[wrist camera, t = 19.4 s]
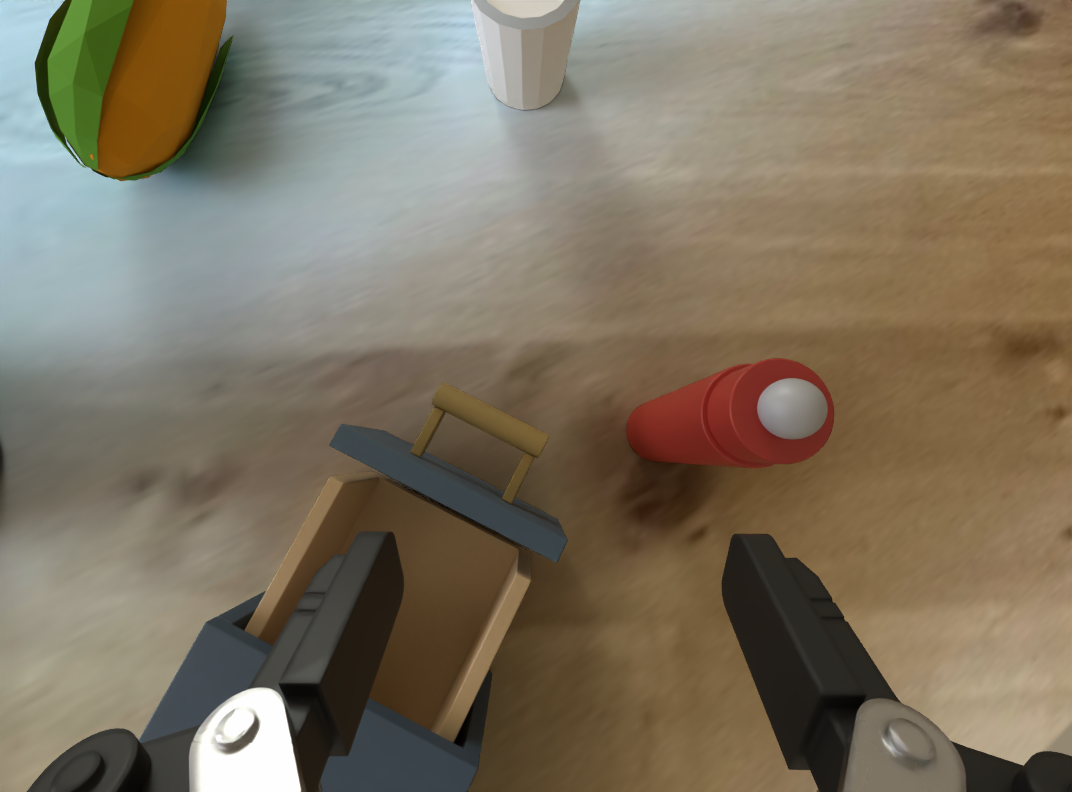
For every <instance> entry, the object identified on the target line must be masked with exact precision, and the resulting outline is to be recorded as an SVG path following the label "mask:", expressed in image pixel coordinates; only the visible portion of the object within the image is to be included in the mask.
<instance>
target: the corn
mask: <svg viewBox="0 0 1072 792" xmlns="http://www.w3.org/2000/svg"><path fill="white" fill-rule="evenodd" d="M226 5H227V0H65V1H64V2H63V4H62V5H61V6H60V7H59V9H58V10H57V11H56V12H55V14H54V15H53V16H52V17H51V19H50V20H49V23H48V26H47V29H46V32H45V35H44V38H43V41H42V43H41V46H40V49H39V52H38V55H37V58H36V61H35V72H36V83H37V93H38V96H39V99H40V102H41V105H42V107H43V110H44V112H45V115H46V117H47V120H48V122H49V125H50V127H51V129H52V131H53V133H54V135H55V136H56V138H57V139H58V140H59V141H60V142H61V143H62V145H63V146H64V147H65V148H66V149H67V150H68V151H69V153H70V154H71V155H72V156H73V157H74V158H75V159H76V161H77V162H78V163H79V164H80V162H79V161H78V159H77V158H76V157H75V155H74V154H73V153H72V151H71V150H70V148H69V147H68V146H67V143H66V140H65V137H66V138H67V141H68V143H69V144H70V146H71V147H72V148H73V150H74V151H75V153H76V154H77V155H78V157H79V158H80V160H81V161H82V162H83V164H84V165H85V166H87V167H89V168H91V169H92V170H93V171H94V172H96V173H98V174H100V175H102V176H105V177H110V178H112V179H117V180H119V181H126V180H138V179H143V178H148V177H150V176H151V175H153V174H156V173H159V172H162V171H163V170H164V169H165V168H167V167H168V166H169V165H170V164H172V163H173V162H174V161H175V160H177V159H178V158H179V157H180V156H182V155H183V154H184V153H185V151H186V149H187V148H188V146H189V145H190V143H191V141H192V140H193V138H194V136H195V135H196V133H197V131H198V130H199V128H200V127H201V125H202V123H203V121H204V118H205V116H206V113H207V111H208V109H209V106H210V104H211V101H212V99H213V97H214V94H215V92H216V89H217V87H218V85H219V82H220V80H221V76H222V73H223V70H224V66H225V63H226V60H227V56H228V53H229V49H230V46H231V43H232V39H233V36H234V35H233V36H232V37H230V38H229V39H228V40H227V41H226V42H225V43H224V45H223V46H222V47H221V48H220V51H219V54H218V57H217V60H216V63H215V66H214V69H213V71H212V73H211V70H212V67H213V64H214V61H215V58H216V54H217V50H218V46H219V42H220V38H221V34H222V30H223V26H224V22H225V18H226ZM210 74H211V76H210ZM209 77H210V78H209ZM80 165H81V166H82V167H85V166H83V165H82V164H80ZM85 168H86V167H85Z"/></svg>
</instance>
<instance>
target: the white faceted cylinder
mask: <svg viewBox="0 0 1072 792" xmlns="http://www.w3.org/2000/svg"><path fill="white" fill-rule="evenodd" d="M579 4H580V0H471V5H472V10H473V14H474V19H475V24H476V28H477V33H478V38H479V42H480V47H481V52H482V56H483V61H484V66H485V70H486V75H487V80H488V84H489V87H490V88H491V90H492V92H493V93H494V95H495V97H496V98H497V99H499V100H500V101H501V102H503V103H504V104H505V105H507V106H508V107H512V108H516V109H520V110H530V109H538V108H540V107H542V106H544V105H546V104H548V103H550V102H551V101H552V100H553V99H554V98H555V97H556V95H557V94H558V93H559V92H560V90H561V86H562V83H563V79H564V75H565V70H566V66H567V61H568V56H569V51H570V47H571V42H572V37H573V33H574V28H575V23H576V18H577V14H578V9H579Z"/></svg>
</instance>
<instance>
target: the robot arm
mask: <svg viewBox="0 0 1072 792" xmlns="http://www.w3.org/2000/svg"><path fill="white" fill-rule="evenodd" d="M403 592H404V575H403V570H402V566H401V561H400V557H399V552H398V548H397V543H396V539H395V535H394V533H393V532H390V531H361V532H359V533H358V534H357V535H356V537H355V539H354V540H353V542H352V544H351V546H350V548H349V550H348V552H347V554H335V555H334V556H333V557H332V558H330V559H329V560H328V561H327V562H326V563H325V564H324V565H323V566H322V567H321V568H320V569H319V570H317V571H316V573H315V575H314V576H313V578H312V580H311V582H310V583H309V585H308V587H307V588H306V590H305V592H304V596H302V597H301V599H300V600H299V602H298V604H297V605H296V607H295V609H294V613H293V614H291V616H290V617H289V619H288V621H287V623H286V624H285V626H284V628H283V629H282V631H281V633H280V635H279V636H278V638H277V640H276V641H275V643H274V645H273V647H272V648H271V650H270V652H269V653H268V655H267V657H266V659H265V660H264V662H263V664H262V665H261V667H260V669H259V671H258V672H257V674H256V676H255V677H254V679H253V681H252V682H251V684H250V685H249V687H248V688H247V689H246V691H243V692H240V693H238V694H236V695H234V696H233V697H231V698H229V699H228V700H226V701H225V702H223V703H222V704H221V705H219V706H218V707H217V708H216V709H215V710H214V711H213V712H212V713H211V714H210V715H209V716H208V717H207V718H206V719H205V721H204V722H203V723H202V724H200V725H197V726H195V727H192V728H189V729H186V730H182V731H179V732H176V733H173V734H169V735H166V736H163V737H160V738H157V739H153V740H150V741H147V742H144V743H140V742H139V740H138V739H137V738H136V737H135V735H134V734H133V733H132V732H130V731H129V730H126V729H109V730H105V731H102V732H99V733H97V734H94V735H92V736H90V737H88V738H86V739H84V740H82V741H80V742H79V743H77V744H75V745H74V746H72V747H71V748H70V749H68V750H67V751H65V752H64V753H63V754H62V755H60V756H59V757H58V758H57V759H56V760H55V761H53V762H52V763H51V764H50V765H49V766H48V767H47V768H46V769H45V770H44V771H43V773H42V774H41V775H40V776H39V777H38V778H37V779H36V781H35V782H34V783H33V784H32V786H31V787H30V788H29V790H28V791H27V792H323V788H322V784H321V781H320V779H321V776H322V774H323V771H324V768H325V766H326V763H327V760H328V758H329V756H343V757H348V756H349V753H350V750H351V747H352V744H353V741H354V738H355V736H356V733H357V730H358V727H359V724H360V721H361V718H362V715H363V712H364V710H365V707H366V704H367V701H368V698H369V695H370V692H371V689H372V686H373V684H374V681H375V678H376V675H377V672H378V669H379V666H380V663H381V660H382V658H383V655H384V652H385V649H386V646H387V643H388V640H389V637H390V634H391V632H392V629H393V626H394V623H395V620H396V617H397V614H398V611H399V608H400V606H401V602H402V598H403ZM722 596H723V601H724V605H725V608H726V611H727V613H728V616H729V618H730V621H731V624H732V626H733V629H734V631H735V634H736V636H737V639H738V641H739V644H740V646H741V649H742V652H743V654H744V657H745V659H746V662H747V664H748V667H749V669H750V672H751V674H752V677H753V680H754V682H755V685H756V687H757V690H758V692H759V695H760V697H761V700H762V702H763V705H764V708H765V710H766V713H767V715H768V718H769V720H770V723H771V725H772V728H773V730H774V733H775V736H776V738H777V741H778V743H779V746H780V748H781V751H782V753H783V756H784V758H785V761H786V764H787V766H788V769H789V770H810V771H811V773H812V775H813V778H814V780H815V782H816V785H817V787H818V790H817V792H1072V756H1069V755H1065V754H1062V753H1058V752H1051V751H1043V752H1039V753H1036V754H1035V755H1033V756H1032V757H1031V758H1030V759H1029V760H1028V761H1027V762H1026V763H1025V765H1024V766H1023V765H1020V764H1017V763H1014V762H1010V761H1007V760H1004V759H1001V758H998V757H995V756H992V755H989V754H986V753H983V752H980V751H977V750H974V749H971V748H968V747H965V746H962V745H960V744H957V743H954V742H952V741H950V740H949V738H948V737H947V736H946V735H945V734H944V733H943V732H942V731H941V730H940V729H939V728H938V727H937V726H936V725H935V724H934V723H933V722H932V721H930V720H929V719H928V718H927V717H925V716H924V715H922V714H921V713H920V712H918V711H916V710H914V709H913V708H911V707H909V706H907V705H905V704H902V703H901V702H900V701H899V700H898V698H897V697H896V696H895V694H894V693H893V691H892V690H891V688H890V687H889V685H888V684H887V682H886V680H885V679H884V677H883V676H882V674H881V673H880V671H879V670H878V668H877V667H876V665H875V664H874V662H873V660H872V659H871V657H870V656H869V654H868V653H867V651H866V650H865V648H864V647H863V645H862V644H861V642H860V640H859V639H858V637H857V636H856V634H855V633H854V631H853V630H852V628H851V627H850V625H849V623H848V622H846V621H845V620H844V616H843V614H842V613H841V611H840V610H839V608H838V607H837V605H836V603H833V601H832V597H831V596H830V594H829V593H828V591H827V590H826V588H825V587H824V585H823V583H822V582H821V580H820V579H819V577H818V576H817V575H816V574H815V573H813V572H812V571H811V570H810V569H809V568H808V567H806V566H805V565H804V564H803V563H802V562H801V561H800V560H798V559H797V558H785V557H784V555H783V553H782V552H781V550H780V548H779V547H778V545H777V543H776V542H775V540H774V539H773V537H772V536H771V535H769V534H734V535H733V536H732V538H731V542H730V546H729V551H728V555H727V560H726V564H725V569H724V573H723V577H722Z"/></svg>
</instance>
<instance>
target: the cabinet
mask: <svg viewBox="0 0 1072 792" xmlns="http://www.w3.org/2000/svg"><path fill="white" fill-rule="evenodd" d="M266 591H267V590H266ZM266 591H264V592H263V593H261V594H259V595H257V596H255V597H253V598H251V599H249V600H247V601H246V602H244V603H242V604H240V605H238V606H236V607H234V608H232V609H230V610H229V611H227V612H225V613H223V614H221V615H219V616H218V617H215V618H213V619H211V620H209V621H207V622H206V623H205V624H204V626H203V628H202V630H201V631H200V633H199V635H198V637H197V638H196V640H195V642H194V644H193V646H192V647H191V649H190V651H189V653H188V654H187V656H186V658H185V660H184V661H183V663H182V665H181V667H180V668H179V670H178V672H177V674H176V675H175V677H174V679H173V681H172V683H171V684H170V686H169V688H168V690H167V691H166V693H165V695H164V697H163V698H162V700H161V702H160V704H159V705H158V707H157V709H156V711H155V712H154V714H153V716H152V718H151V720H150V721H149V723H148V725H147V727H146V728H145V730H144V732H143V734H142V735H141V737H140V739H139V742H140V743H144V742H147V741H150V740H153V739H157V738H160V737H163V736H166V735H169V734H173V733H176V732H179V731H182V730H186V729H189V728H192V727H195V726H197V725H200V724H202V723H203V722H204V721H205V719H206V718H207V717H208V716H209V715H210V714H211V713H212V712H213V711H214V710H215V709H216V708H217V707H218V706H219V705H221V704H222V703H223V702H225V701H226V700H228V699H229V698H231V697H233V696H234V695H236V694H238V693H240V692H243V691H246V689H247V688H248V687H249V685H250V684H251V682H252V681H253V679H254V677H255V676H256V674H257V672H258V671H259V669H260V667H261V665H262V664H263V662H264V660H265V659H266V657H267V655H268V653H269V652H270V650H271V648H272V647H273V646H272V645H270V644H268V643H266V642H264V641H262V640H261V639H259V638H257V637H255V636H253V635H251V634H249V633H248V632H246V631H244V630H245V628H246V627H247V625H248V623H249V621H250V619H251V618H252V616H253V614H254V612H255V610H256V609H257V607H258V605H259V603H260V601H261V600H262V598H263V596H264V594H265V592H266ZM491 680H492V673H491V672H489V671H488V672H487V674H486V676H485V678H484V681H483V683H482V685H481V687H480V689H479V691H478V693H477V695H476V697H475V699H474V701H473V703H472V705H471V708H470V710H469V712H468V714H467V716H466V718H465V720H464V722H463V724H462V726H461V728H460V730H459V732H458V735H457V737H456V739H455V741H454V743H452V742H451V741H449V740H447V739H445V738H443V737H441V736H439V735H438V734H436V733H434V732H432V731H430V730H428V729H426V728H425V727H423V726H421V725H419V724H417V723H415V722H413V721H411V720H410V719H408V718H406V717H404V716H402V715H400V714H398V713H397V712H395V711H393V710H391V709H389V708H387V707H385V706H384V705H382V704H380V703H378V702H376V701H374V700H372V699H371V698H368V701H367V704H366V707H365V710H364V712H363V715H362V718H361V721H360V724H359V727H358V730H357V733H356V736H355V738H354V741H353V744H352V747H351V750H350V753H349V756H348V757H343V756H329V758H328V760H327V763H326V766H325V768H324V771H323V774H322V776H321V779H320V781H321V784H322V788H323V792H468V790H469V787H470V785H471V783H472V781H473V779H474V777H475V775H476V773H477V770H478V766H479V759H480V753H481V746H482V740H483V733H484V726H485V720H486V713H487V707H488V700H489V694H490V687H491Z"/></svg>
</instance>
